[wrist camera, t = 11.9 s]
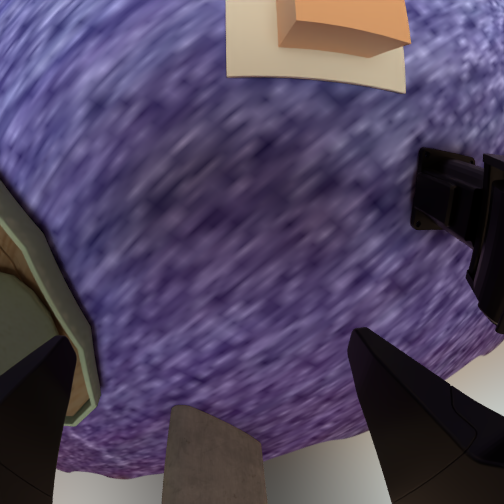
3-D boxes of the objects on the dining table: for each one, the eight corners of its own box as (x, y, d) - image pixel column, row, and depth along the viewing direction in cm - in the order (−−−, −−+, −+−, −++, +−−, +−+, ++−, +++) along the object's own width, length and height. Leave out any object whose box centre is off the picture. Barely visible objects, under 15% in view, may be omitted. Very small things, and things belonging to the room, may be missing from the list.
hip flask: (166, 409, 28) (152, 563, 10) (189, 399, 27) (182, 570, 9) (247, 450, 34) (257, 565, 16) (270, 442, 33) (286, 563, 15)
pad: (389, -17, 11) (392, -20, 10) (401, 93, 15) (405, 93, 15) (226, -41, 10) (226, -45, 10) (226, 77, 14) (226, 76, 14)
